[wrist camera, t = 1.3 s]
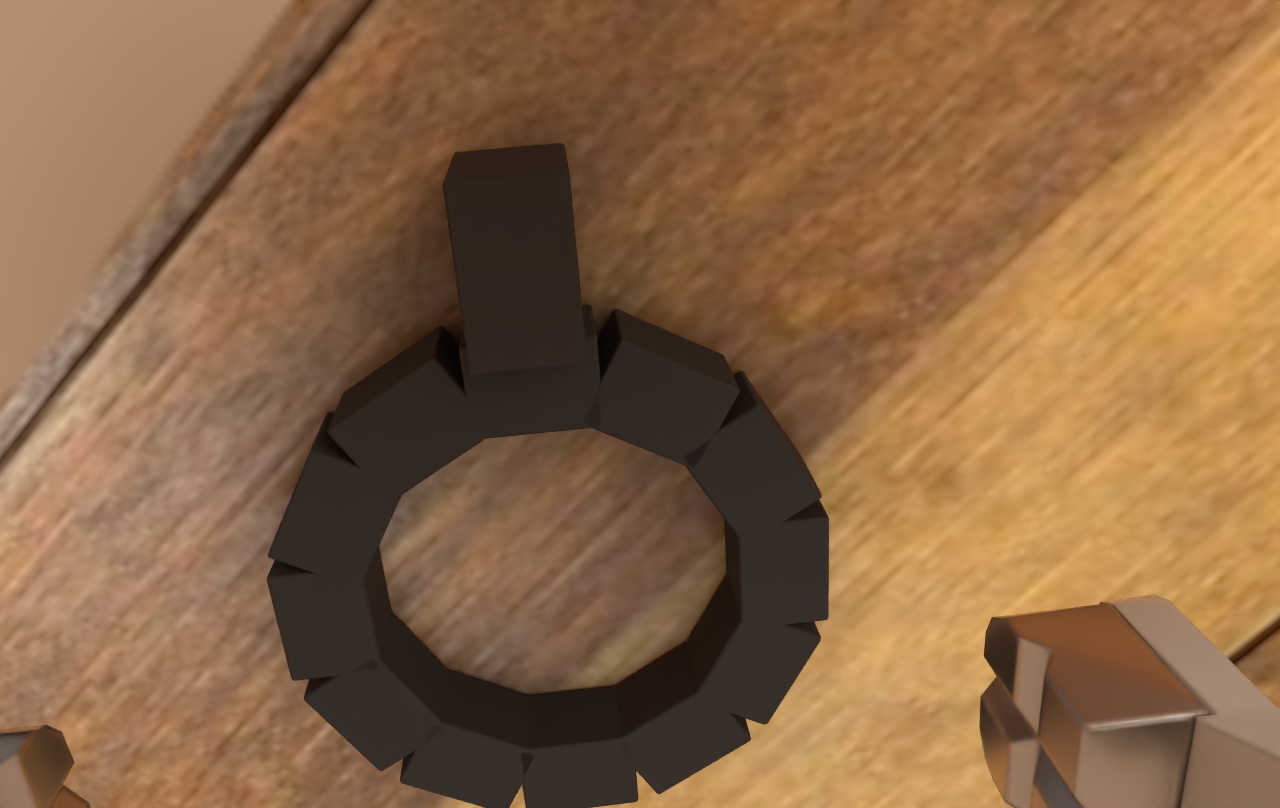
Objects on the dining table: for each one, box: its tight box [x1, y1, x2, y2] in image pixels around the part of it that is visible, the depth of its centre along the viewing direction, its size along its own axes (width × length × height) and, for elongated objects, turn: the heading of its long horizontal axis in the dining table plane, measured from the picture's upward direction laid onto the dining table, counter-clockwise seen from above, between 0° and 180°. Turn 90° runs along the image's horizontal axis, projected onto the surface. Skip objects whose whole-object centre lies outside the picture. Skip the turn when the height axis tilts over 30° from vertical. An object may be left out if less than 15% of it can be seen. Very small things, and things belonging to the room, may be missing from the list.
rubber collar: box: [267, 143, 829, 808], centre depth 23 cm, size 15×12×3 cm
